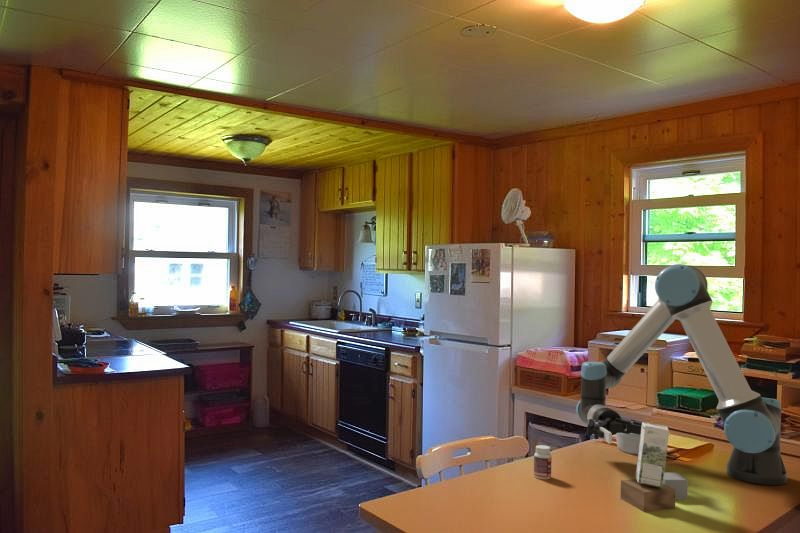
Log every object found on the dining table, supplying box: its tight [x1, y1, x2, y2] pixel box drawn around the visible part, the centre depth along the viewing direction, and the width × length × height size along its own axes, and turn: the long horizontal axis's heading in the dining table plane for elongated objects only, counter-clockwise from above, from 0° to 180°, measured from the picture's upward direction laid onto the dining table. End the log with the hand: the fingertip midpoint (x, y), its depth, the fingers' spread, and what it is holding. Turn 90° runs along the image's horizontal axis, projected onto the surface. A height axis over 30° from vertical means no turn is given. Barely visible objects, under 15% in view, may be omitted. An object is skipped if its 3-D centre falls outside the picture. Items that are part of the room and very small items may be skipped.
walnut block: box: [620, 478, 676, 513], centre depth 155 cm, size 9×9×5 cm
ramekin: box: [615, 429, 641, 456], centre depth 204 cm, size 13×13×7 cm
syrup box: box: [635, 421, 670, 488], centre depth 155 cm, size 6×6×14 cm
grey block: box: [663, 471, 689, 500], centre depth 162 cm, size 6×6×5 cm
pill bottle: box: [533, 444, 553, 480], centre depth 174 cm, size 5×5×8 cm
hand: (635, 438), depth 163 cm, fingers open, 13 cm apart
